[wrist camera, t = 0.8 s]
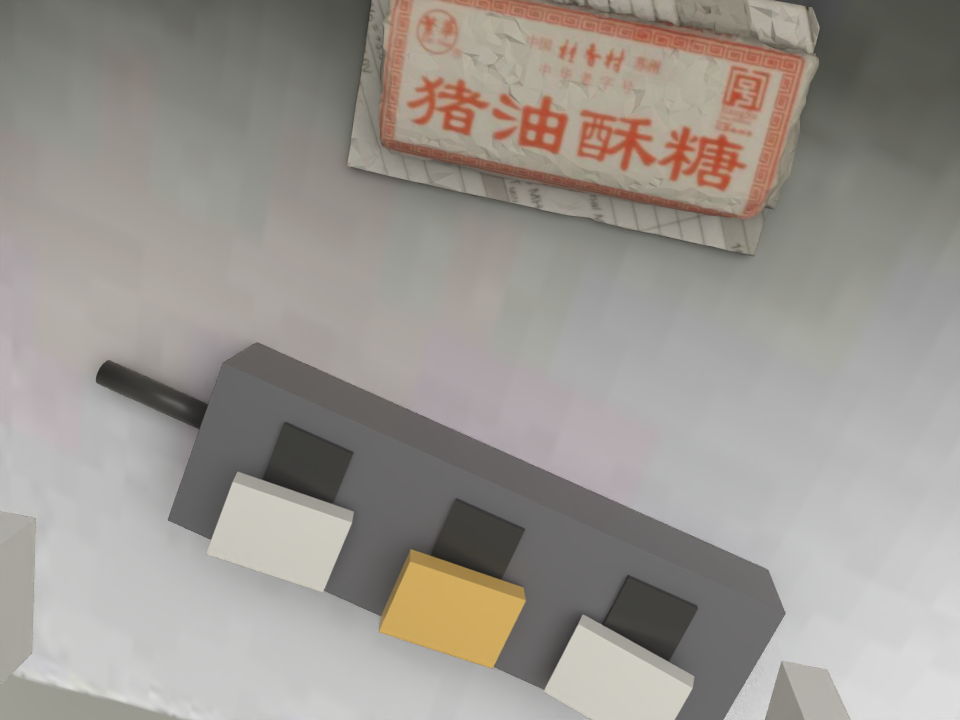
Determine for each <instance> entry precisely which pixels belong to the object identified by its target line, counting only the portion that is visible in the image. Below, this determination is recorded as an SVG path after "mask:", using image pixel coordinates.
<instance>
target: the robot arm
mask: <svg viewBox="0 0 960 720" xmlns="http://www.w3.org/2000/svg"><path fill="white" fill-rule="evenodd" d="M35 530H36V518H33V517H28V516H23V515H18V514H12V513H7V512H2V511H0V685H1V684H2V683H3V682H4V680H6V679H7V678H8V677H9V676H10V675H11V674H12V673H13V672H14V671H15V670H16V669H17V668H18V667H19V666H20V665H21V664H22V663H23V662H24V661H25V660H26V659H27V658H28V657H29V656H30V655H31V654H32V640H33V603H34V567H35ZM765 720H851V719H850V717H849V715H848V713H847V711H846V709H845V706H844V704H843V702H842V700H841V698H840V696H839V694H838V691H837V689H836V687H835V685H834V683H833V681H832V679H831V677H830V674H829V672H828V670H827V669H822V668H817V667H811V666H806V665H801V664H796V663H791V662H785V661H781V665H780V668H779V672H778V676H777V679H776V683H775V686H774V690H773V693H772V697H771V700H770V704H769V707H768V711H767V715H766V718H765Z"/></svg>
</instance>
